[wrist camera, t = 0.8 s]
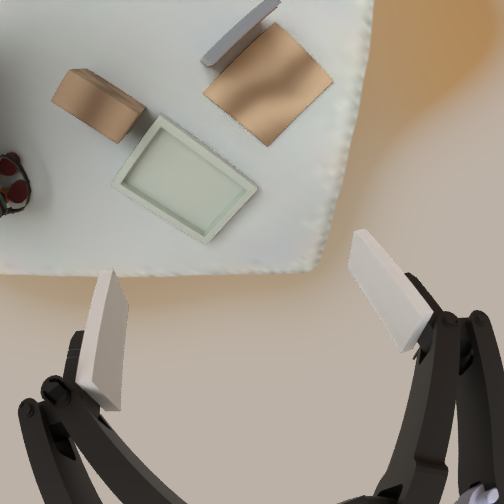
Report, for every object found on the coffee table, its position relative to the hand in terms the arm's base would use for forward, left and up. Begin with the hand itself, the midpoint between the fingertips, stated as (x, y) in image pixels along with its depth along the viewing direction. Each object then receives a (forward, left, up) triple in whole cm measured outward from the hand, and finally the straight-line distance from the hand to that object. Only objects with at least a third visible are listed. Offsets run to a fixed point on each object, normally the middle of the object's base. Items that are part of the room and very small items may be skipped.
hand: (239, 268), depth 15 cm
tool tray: (+1, -6, -25) cm, 26 cm away
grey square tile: (-7, +12, -25) cm, 29 cm away
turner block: (-14, -3, -25) cm, 29 cm away
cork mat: (+1, +11, -25) cm, 28 cm away
